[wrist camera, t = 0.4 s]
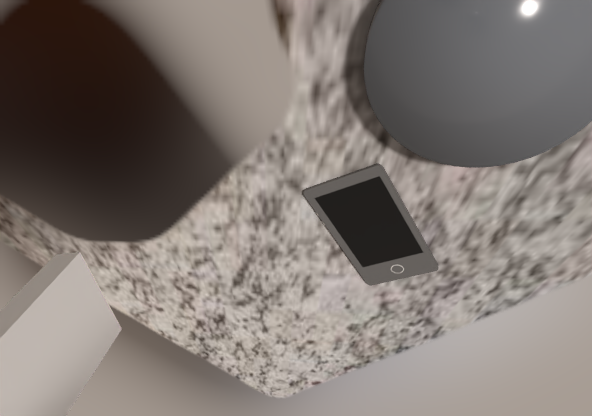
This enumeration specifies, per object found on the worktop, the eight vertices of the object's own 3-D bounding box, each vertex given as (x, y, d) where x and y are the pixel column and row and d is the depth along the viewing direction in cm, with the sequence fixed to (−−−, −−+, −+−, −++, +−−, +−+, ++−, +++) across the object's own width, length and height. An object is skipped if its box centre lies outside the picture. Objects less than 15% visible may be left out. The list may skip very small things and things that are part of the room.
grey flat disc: (561, -163, 25) (571, -159, 23) (666, 75, 32) (679, 89, 30) (318, 34, 34) (315, 45, 32) (442, 183, 41) (443, 198, 40)
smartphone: (300, 186, 45) (299, 191, 44) (380, 158, 41) (379, 163, 40) (367, 281, 52) (367, 286, 52) (439, 264, 49) (440, 270, 48)
